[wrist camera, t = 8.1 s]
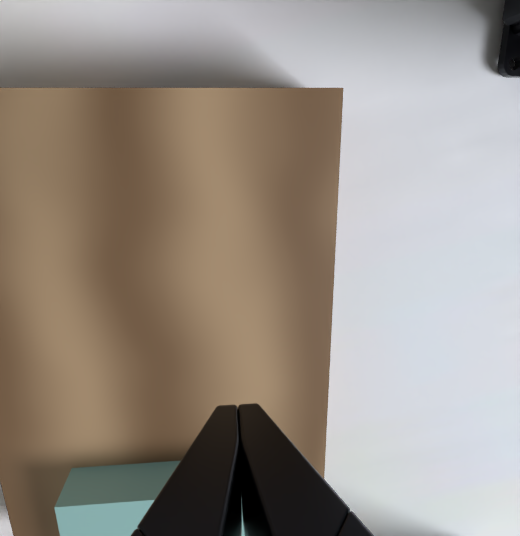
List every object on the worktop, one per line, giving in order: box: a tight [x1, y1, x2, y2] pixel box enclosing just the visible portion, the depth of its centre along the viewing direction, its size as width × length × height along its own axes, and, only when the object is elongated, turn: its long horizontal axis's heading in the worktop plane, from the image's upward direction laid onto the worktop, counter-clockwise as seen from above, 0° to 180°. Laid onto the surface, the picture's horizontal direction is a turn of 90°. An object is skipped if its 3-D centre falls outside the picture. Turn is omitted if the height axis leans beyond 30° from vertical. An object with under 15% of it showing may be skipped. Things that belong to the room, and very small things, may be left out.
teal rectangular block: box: [54, 461, 245, 536], centre depth 19 cm, size 9×6×2 cm, turn 91°
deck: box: [0, 88, 343, 536], centre depth 19 cm, size 14×22×4 cm, turn 1°
